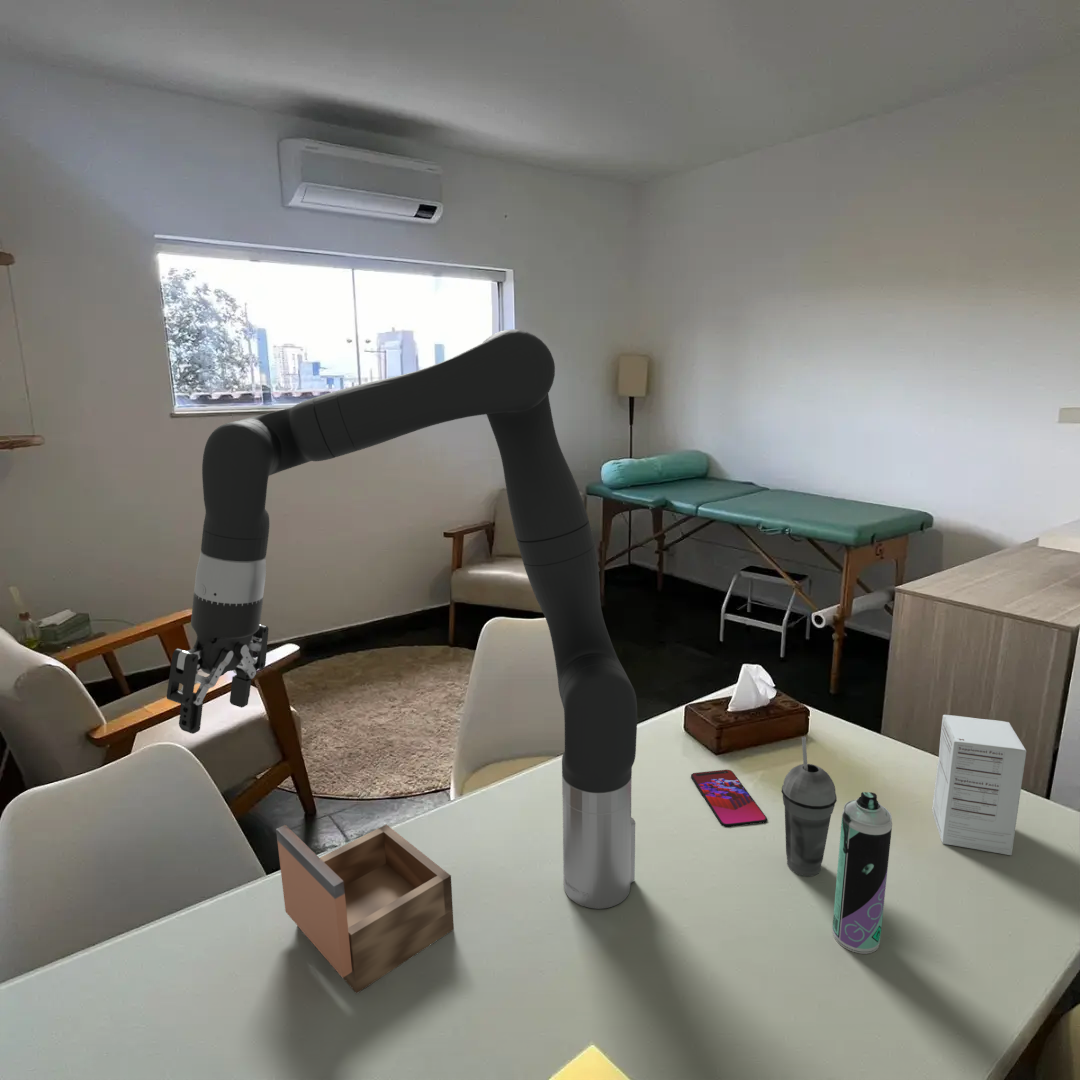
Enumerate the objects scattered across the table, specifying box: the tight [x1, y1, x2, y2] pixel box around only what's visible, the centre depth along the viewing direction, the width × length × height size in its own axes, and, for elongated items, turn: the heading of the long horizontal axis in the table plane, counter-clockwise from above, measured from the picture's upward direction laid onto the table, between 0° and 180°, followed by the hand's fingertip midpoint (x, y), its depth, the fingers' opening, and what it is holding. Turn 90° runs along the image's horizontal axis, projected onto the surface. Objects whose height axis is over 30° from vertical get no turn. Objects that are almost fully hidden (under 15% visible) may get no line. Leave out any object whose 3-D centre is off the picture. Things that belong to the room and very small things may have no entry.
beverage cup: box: [780, 736, 838, 877], centre depth 102 cm, size 7×7×20 cm
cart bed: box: [319, 824, 455, 994], centre depth 94 cm, size 14×15×8 cm
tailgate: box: [275, 824, 352, 979], centre depth 87 cm, size 1×15×12 cm, turn 43°
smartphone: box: [690, 769, 768, 828], centre depth 121 cm, size 8×1×15 cm
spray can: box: [831, 791, 893, 955], centre depth 89 cm, size 6×6×20 cm
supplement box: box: [931, 714, 1027, 856], centre depth 109 cm, size 10×9×17 cm
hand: (215, 717), depth 89 cm, fingers open, 8 cm apart
